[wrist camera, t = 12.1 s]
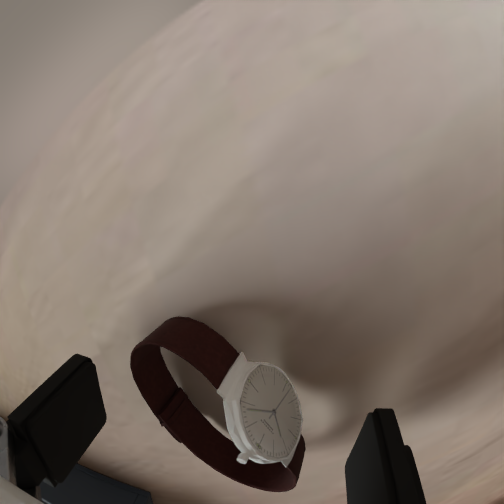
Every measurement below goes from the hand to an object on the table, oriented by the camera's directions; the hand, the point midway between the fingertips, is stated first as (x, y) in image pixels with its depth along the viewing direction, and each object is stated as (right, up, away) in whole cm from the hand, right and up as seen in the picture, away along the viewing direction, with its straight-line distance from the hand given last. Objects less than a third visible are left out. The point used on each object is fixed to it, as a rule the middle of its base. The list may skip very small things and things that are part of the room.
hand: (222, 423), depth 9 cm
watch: (0, 0, +2) cm, 2 cm away
